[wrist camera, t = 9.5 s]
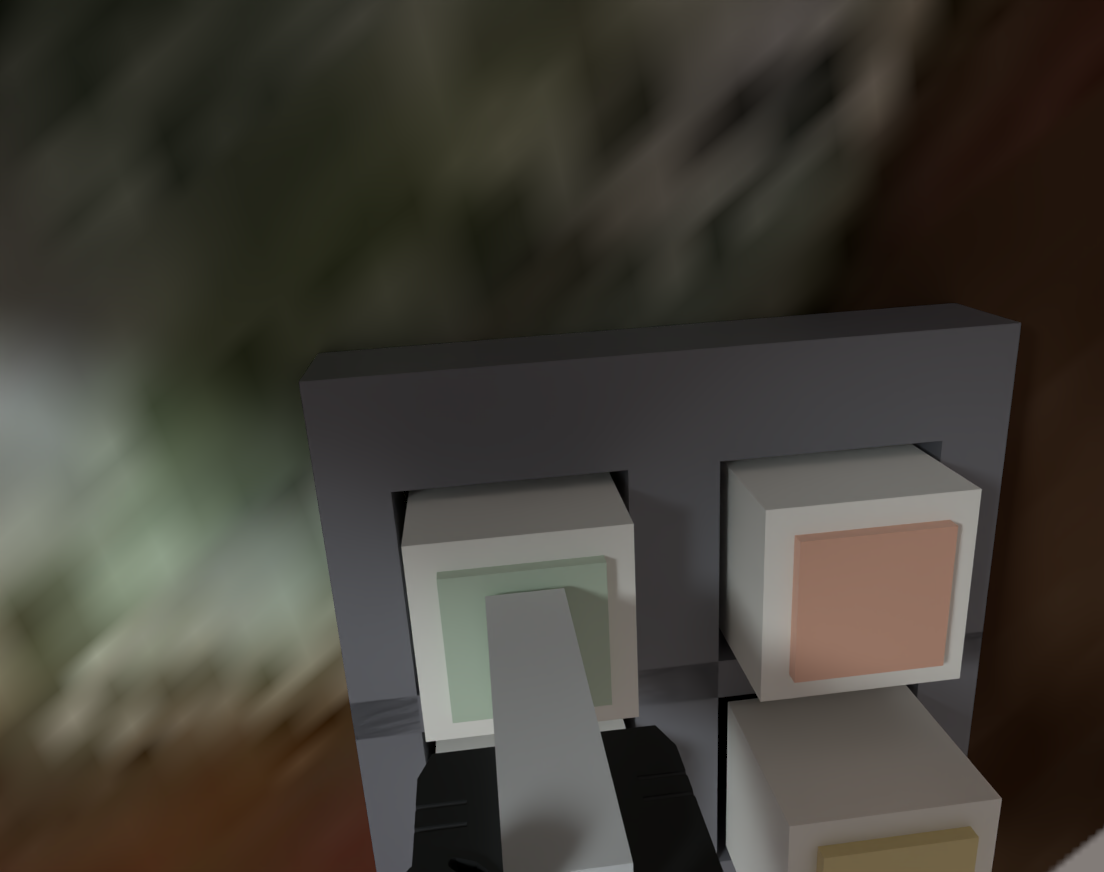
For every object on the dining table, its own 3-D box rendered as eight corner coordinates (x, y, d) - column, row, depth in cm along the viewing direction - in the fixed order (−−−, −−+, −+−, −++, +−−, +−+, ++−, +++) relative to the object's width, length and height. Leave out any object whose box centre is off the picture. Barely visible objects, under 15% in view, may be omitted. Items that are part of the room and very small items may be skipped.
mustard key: (727, 701, 20) (795, 838, 16) (902, 680, 21) (1010, 809, 17) (726, 845, 22) (787, 1003, 18) (889, 824, 22) (986, 974, 18)
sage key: (411, 470, 20) (400, 554, 15) (600, 453, 20) (636, 529, 16) (431, 635, 21) (425, 751, 17) (606, 616, 21) (642, 726, 17)
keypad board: (318, 353, 19) (298, 382, 17) (955, 303, 20) (1021, 322, 18) (399, 900, 24) (394, 980, 22) (903, 832, 25) (948, 902, 23)
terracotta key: (707, 443, 20) (771, 516, 16) (884, 427, 20) (990, 495, 16) (706, 605, 22) (765, 710, 18) (872, 587, 22) (967, 686, 18)
